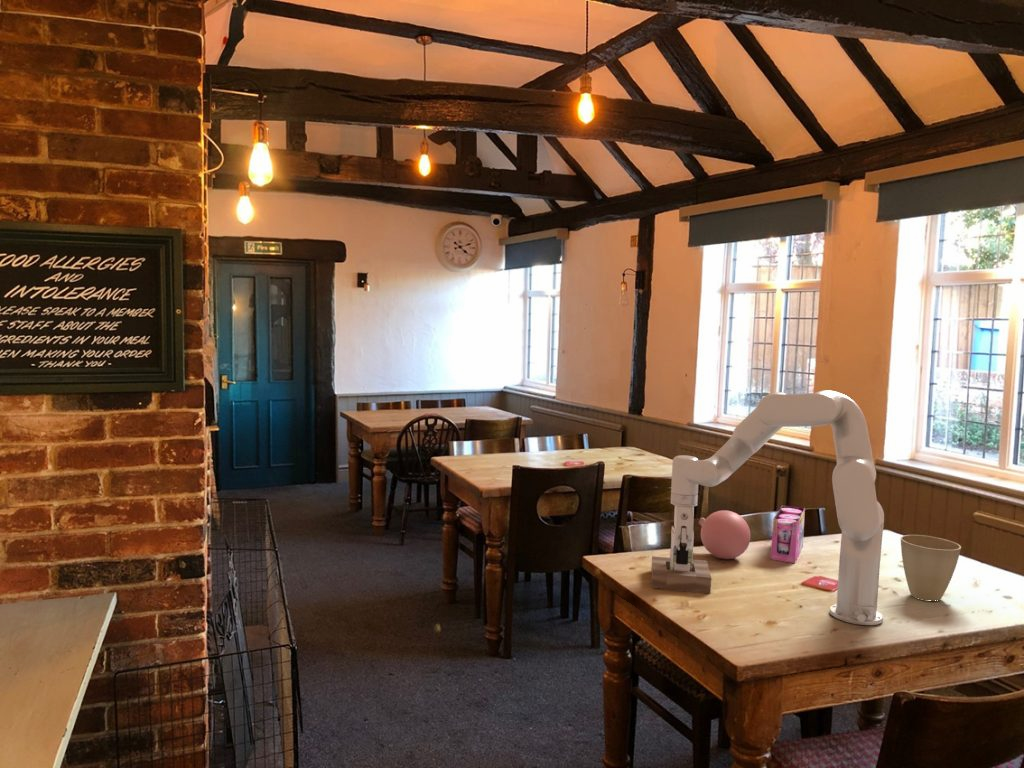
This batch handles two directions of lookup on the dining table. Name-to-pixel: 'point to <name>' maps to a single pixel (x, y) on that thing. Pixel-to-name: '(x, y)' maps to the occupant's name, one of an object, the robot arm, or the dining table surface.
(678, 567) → the syrup box
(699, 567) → the walnut stand
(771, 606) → the dining table surface
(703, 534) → the balloon
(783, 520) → the gum box
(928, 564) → the plant pot
